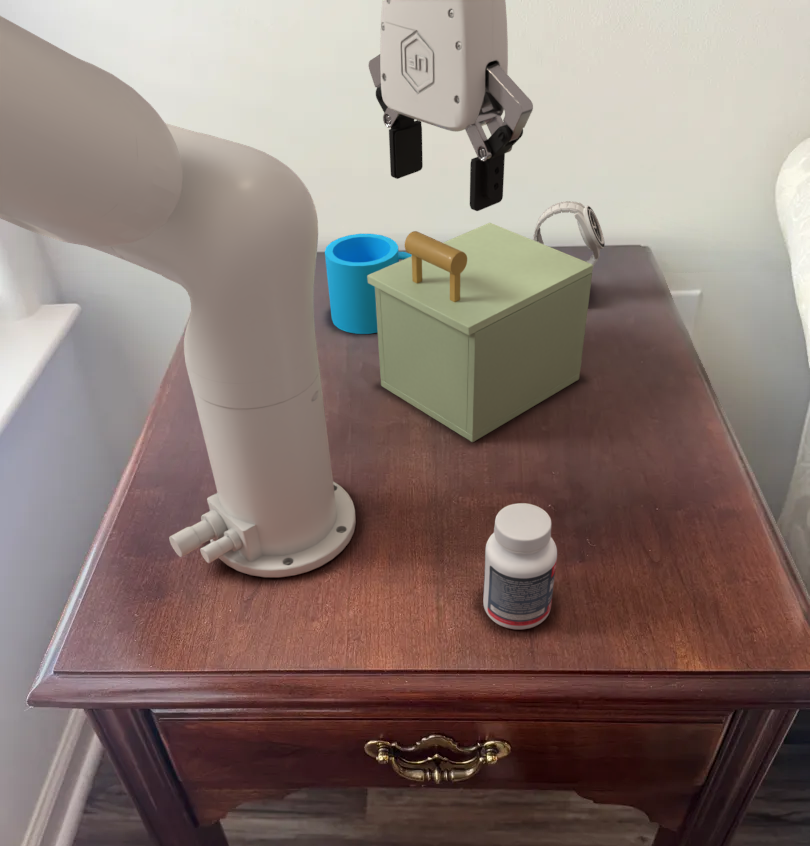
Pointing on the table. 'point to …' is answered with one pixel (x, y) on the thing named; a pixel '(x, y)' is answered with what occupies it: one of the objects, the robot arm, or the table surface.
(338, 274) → the mug
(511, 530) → the pill bottle
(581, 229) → the watch
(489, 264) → the lid
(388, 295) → the chest
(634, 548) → the table surface
